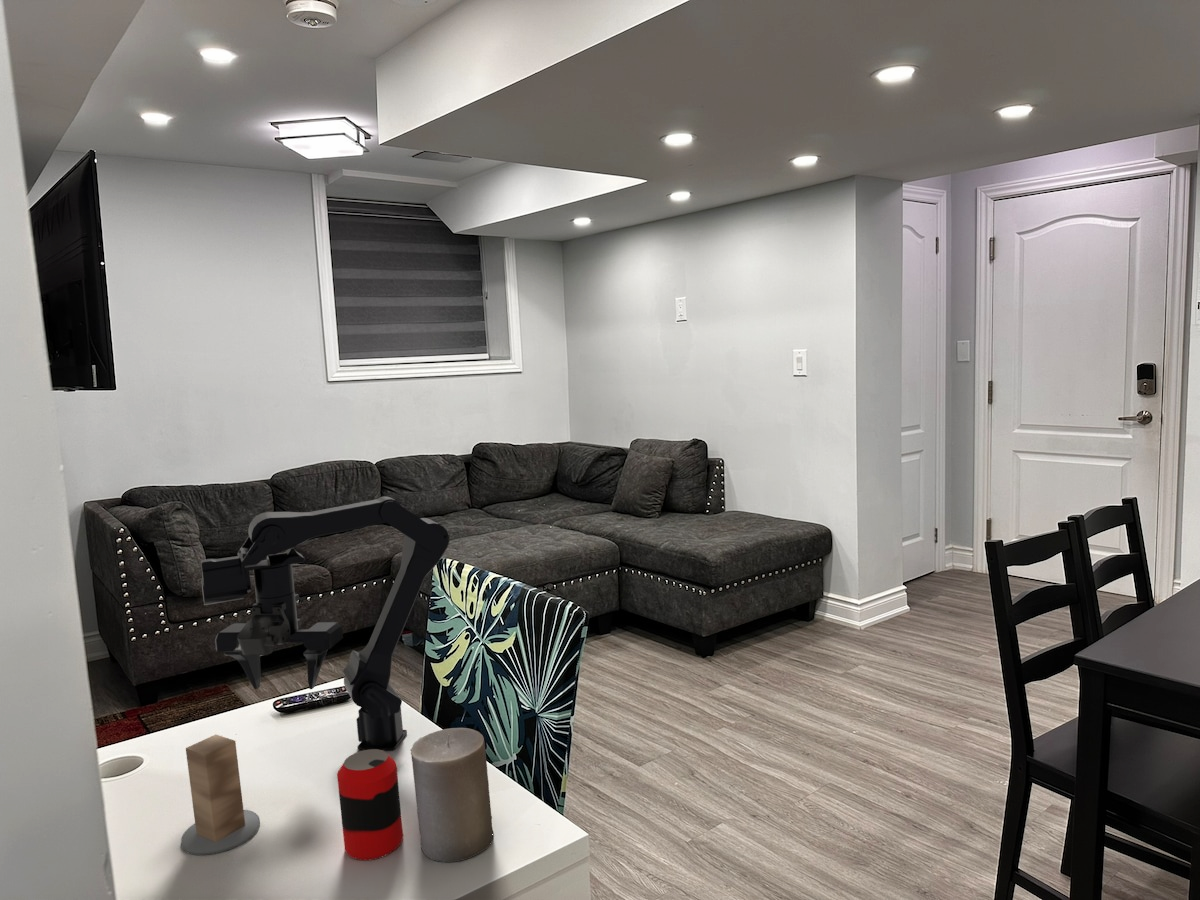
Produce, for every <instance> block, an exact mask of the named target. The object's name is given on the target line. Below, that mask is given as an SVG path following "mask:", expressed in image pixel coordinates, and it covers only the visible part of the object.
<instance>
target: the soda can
mask: <svg viewBox="0 0 1200 900" xmlns="http://www.w3.org/2000/svg"><path fill="white" fill-rule="evenodd" d="M397 767H398V766H397V762H396V761H395V759H394V758H393V757H392V756H390V755H389V754H388V752H386V750H379V749H370V750H359V751H357V752H354V753H352V754H351V755H349V756H348V757H347V758H345V760H344V761H343V763H342V765H341V766H340V768H339V770H338V771H337V773H336V775H337V777H336V778H337V786H338V797H339V805H340V807H339V808H340V812H341V813H340V815H341V826H342V834H343V835H342V836H343V844H344V845H343V846H344V851H345V853H346V854H347V855H348V856H349V857H350V858H353V859H354V858H356V859H355V860H358V859H361V860H360V861H370V860H369V859H373V860H376V859H375V858H377V859H380V858H379V857H381V858H383V857H385V855H386V856H388V855H390V854H391V853H393V852H394V851H395V850H397V849H398V847H399V846H400V845H401V843H402V842H403V838H404V832H403V822H402V821H403V820H402V811H401V801H400V800H401V799H400V791H399V779H398V769H397ZM392 851H393V852H392ZM390 852H391V853H390ZM389 853H390V854H389ZM387 854H388V855H387ZM382 856H383V857H382Z"/></svg>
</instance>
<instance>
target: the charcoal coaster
mask: <svg viewBox="0 0 1200 900" xmlns="http://www.w3.org/2000/svg"><path fill="white" fill-rule="evenodd" d="M243 810H244V819H245V826H243V827H242V828H240V829H238V830H236V831H235V832H233V833H231V834H230V835H228V836H226V837H224V838H223V839H221V840H219V841H217V842H214V841H212V840H210V839H207V838H205V837H203V836H201V835H198V834H196V826H195V823H192V825H190V826H189V827H188V828H187V829H186V830H185V831H184V833H183V834H182V836H181V839H180V842H181V847H182V849H183V850H184V852H186V853H187V854H190V855H195V856H207V855H208V856H209V855H215V854H219V853H224V852H226V851H230V850H232V849H234V848H237V847H240V845H243V844H244V843H247V842H248V841H249V840H250V839H252V838H253V837H254V836H255V835H256V834H257V832H258V831H259V830H260V827H261V820H260V816H259V815H258V814H257V813H256V812H254V811H252V810H248V809H243Z"/></svg>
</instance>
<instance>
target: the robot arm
mask: <svg viewBox="0 0 1200 900" xmlns="http://www.w3.org/2000/svg"><path fill="white" fill-rule="evenodd" d="M381 524H388V525H390V526H392V528H394V529H396V530H397V531H399V532H400V533H402V534H404V540H403V542H402V543H403V544H402V549H401V562H400V568H399V571H398V572H397V574H396V577H395V579H394V582H393V585H392V586H391V589H390V592H389V593H388V595H387V598H386V601H385V603H384V605H383V607H382V610H381V613H380V615H379V618H378V620H377V621H376V624H375V626H374V629H373V631H372V634H371V636H370V638H369V641H368V643H367V644H366V645H365V646H364V648H363V649H362V650H360V651H359V652H358V651H356V650H354V649H352V651H351V653H350V656H349V660H348V663H347V665H346V666H345V668H343V670H342V674H343V676H344V678H343V684H344V688H345V689H346V692H347V693H348V695H349V697H350V698H351V700H352V702H353V703H354V704H355V705H356V706H357V707H360V708H359V709H358V717H357V718H356V728H357V737H358V738H357V739H358V742H359V744H358V745H357V746H356V747H357V750H358V751H363V750H370V749H379V750H383V751H393V750H396V748H398V746H399V744H400V743H401V742H402V740H403V739H404V738H405V736H406V735H407V733H408V730H407V729H404V726H403V718H402V717H403V714H402V702H403V700H402V698H401V697H400V696H399V694H398V693H397V692H396V690H395V689H394V687H393V686H392V685H391V684H390V681H391V680H390V679H391V673H392V661H393V656H394V655H393V654H394V652H395V649H396V648H397V645H398V643H399V640H400V638H401V636H402V633H403V632H404V628H405V627H406V623H407V621H408V619H409V617H410V614H411V612H412V609H413V607H414V605H415V603H416V600H417V597H418V595H419V593H420V590H421V588H422V585H423V582H424V581H425V578H426V577H427V576H428V575H429V574H430V572H431V571H432V570H433V569H434V568H435V567H436V566H437V565H438V564H439V562H440V561H441V559H442V557H443V555H444V554H445V552H446V551H447V549H448V547H449V544H450V536H449V535H450V534H449V533H448V530H447V529H446V528H445V527H444V526H443V525H441V524H439V523H437V522H436V521H434V520H432V519H430V518H426V517H418V516H417V515H416V514H415V513H413V512H412V511H410V510H409V509H406V508H405V507H404V506H402V505H401V504H400V502H398V500H397V499H394V498H392V497H390V496H381V497H379V498H376V499H371V500H366V501H361V502H356V503H349V504H345V505H340V506H335V507H330V508H325V509H319V510H314V511H306V512H305V511H304V512H303V511H302V512H299V511H267V512H262V513H260V514H257V515H256V516H254V518H253V519H252V520H251V521H250V522H249V526H248V537H247V538H246V539H245V541H244V542H243V544H242V545H241V547H240V548H239V550H238V551H237V555H236V556H230V557H229V556H228V557H222V558H221V557H220V558H207V559H206V558H205V559H202V560H201V561H200V566H201V576H202V578H201V579H200V581H201V589H202V590H201V591H202V597H203V598H202V599H203V605H204V606H209V605H214V604H220V603H228V602H232V601H237V600H244V599H245V596H247V595H248V594H249V592H252V591H251V590H252V588H251V587H252V585H251V584H252V583H251V577H250V576H251V575H250V571H253V580H254V590H255V600H256V601H255V603H253V604H252V605H251V607H252V608H251V617H250V619H249V620H248V621H246V623H245V622H244V623H243V622H240V623H232V624H231V625H229V626H227V627H226V628H224V629H222V630H221V631H219V632H218V633H217V634H216V636H215V639H214V642H215V643H214V644H215V651H216V652H223V654H224V656H227V657H231V658H233V659H235V660H236V661H237V662H238V664H240V666H241V668H242V669H243V670H244V673H245V675H246V677H247V678H248V680H249V682H250V683H251V686H252V687H253V689H254V690H258V689H260V687H261V678H262V676H261V675H262V674H261V656H268V655H270V654H272V653H273V652H274V651H275V649H276V646H277V645H285V644H286V643H303V647H304V648H305V649H306V650H305V651H303V652H302V654H303V656H304V657H305V659H306V666H307V667H306V669H307V682H308V683H307V684H308V688H309V690H313V689H315V686H316V684H317V681H318V678H319V674H320V672H321V668H322V664H323V662H324V659H325V657H326V655H327V652H328V651H329V650H330V649H332V648H333V647H334V646H335V645H337V644H338V643H339V642H341V640H343V639H344V631H343V627H342V625H340V623H339V622H338V621H336V622H335V621H331V622H329V621H326V622H325V621H323V622H316V623H314V624H313V625H312V626H310V628H308V629H299V627H301V626H302V625H303V622H302V618H298V614H297V602H298V601H300V593H296V592H295V582H294V574H293V573H294V569H293V564H300V563H301V564H302V563H304V562H305V560H306V558H305V557H304V556H303V554H302V553H301V552H298V551H297V550H296V549H295V547H299V546H300V545H301V544H303V543H305V542H308V541H309V540H312V539H315V538H318V537H322V536H323V537H325V536H329V535H332V534H336V533H343V532H347V531H352V530H357V529H362V528H367V527H371V526H372V527H373V526H376V525H381ZM265 558H266V559H265Z"/></svg>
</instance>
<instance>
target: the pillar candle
mask: <svg viewBox="0 0 1200 900" xmlns="http://www.w3.org/2000/svg"><path fill="white" fill-rule="evenodd" d="M486 752H487V751H486V743H485V737H484V736H483V734H482V733H481V732H480V731H478V730H475V729H473V728H467V727H451V728H445V729H440V730H437V731H433V732H431V733H428V734H426V735H424V736H422V737H420V738H418V739H417V740H416V741H414V743H413V744H412V746H411V748H410V755H411V763H412V770H413V771H412V773H413V783H414V791H415V792H414V793H415V802H416V803H415V804H416V811H417V812H416V813H417V821H418V828H419V829H418V830H419V837H420V838H419V840H420V847H421V850H422V852H423V853H424V854H425V856H427V857H428V858H429V859H430V860H432V861H435V860H436V862H440V861H442V862H444V863H451V862H452V863H454V862H460V861H463V860H467V859H469V858H472V857H474V856H476V855H478V854H480V853H481V852H484V850H486V849H487V848H489V846H490V845H491V844H492V842H493V840H494V829H493V822H492V821H493V820H492V819H493V815H492V808H491V797H490V786H489V785H490V784H489V774H488V765H487V754H486ZM492 834H493V835H492ZM490 843H491V844H490ZM453 861H454V862H453ZM442 862H441V863H442Z"/></svg>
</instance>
